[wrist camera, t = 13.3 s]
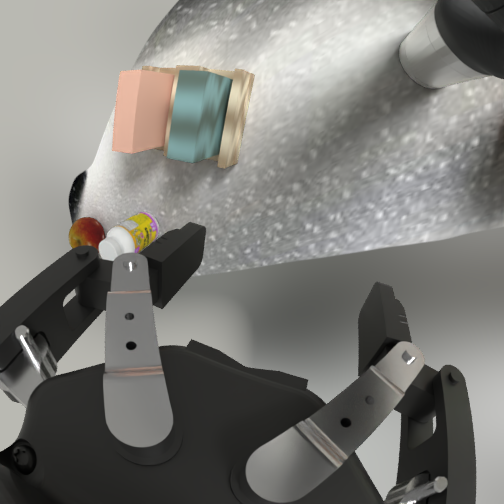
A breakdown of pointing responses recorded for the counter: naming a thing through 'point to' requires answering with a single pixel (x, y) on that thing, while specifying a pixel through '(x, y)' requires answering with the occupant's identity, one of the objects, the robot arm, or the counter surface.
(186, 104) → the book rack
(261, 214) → the counter surface
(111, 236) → the supplement bottle
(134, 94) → the coral book
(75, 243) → the fruit
